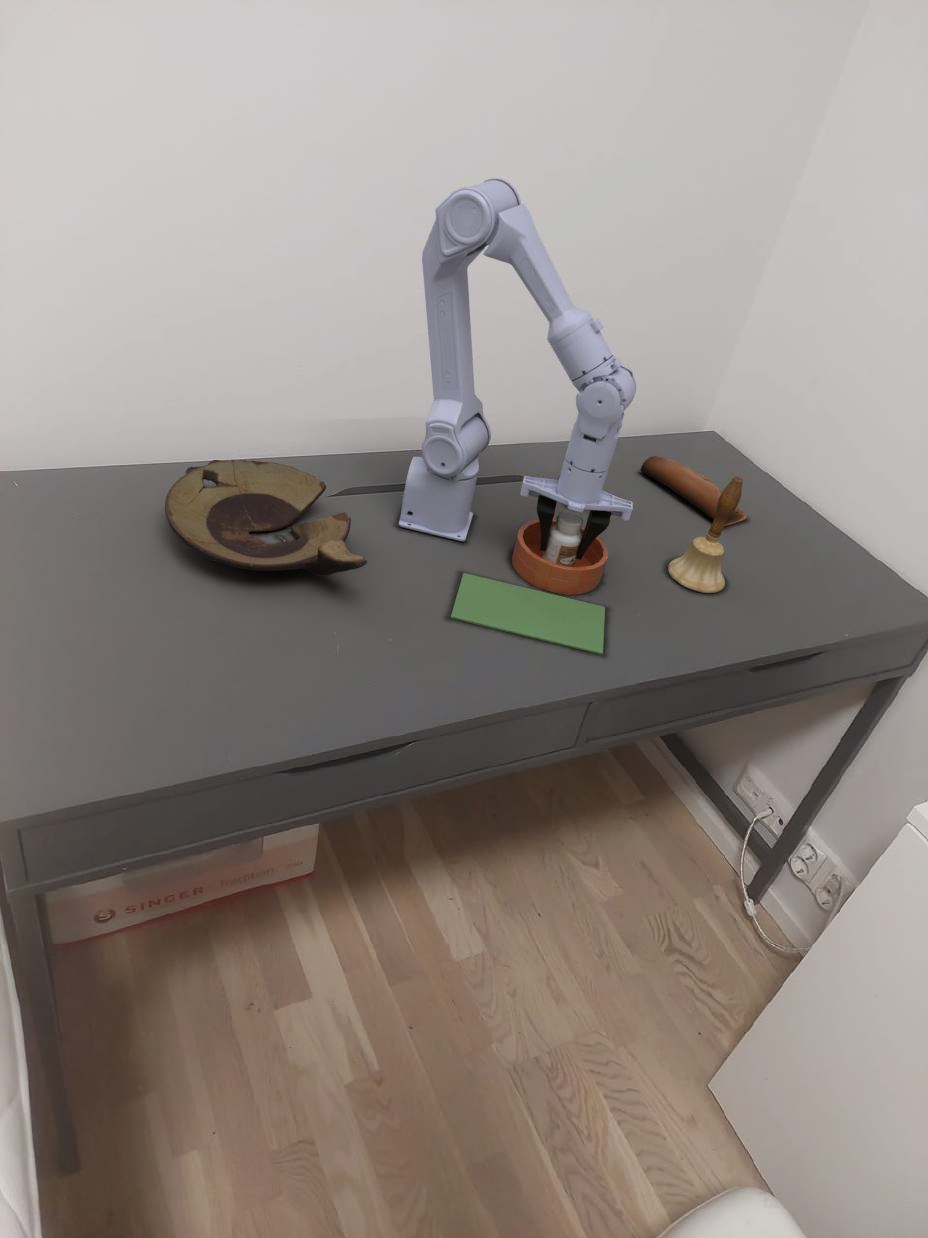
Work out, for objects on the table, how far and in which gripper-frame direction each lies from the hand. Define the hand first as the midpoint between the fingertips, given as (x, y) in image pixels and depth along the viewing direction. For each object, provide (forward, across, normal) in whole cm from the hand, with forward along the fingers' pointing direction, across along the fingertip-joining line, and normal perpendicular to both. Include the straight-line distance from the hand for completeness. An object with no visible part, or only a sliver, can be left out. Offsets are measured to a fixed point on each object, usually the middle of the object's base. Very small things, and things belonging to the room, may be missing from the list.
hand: (560, 551), depth 120 cm
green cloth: (+3, -2, -12) cm, 13 cm away
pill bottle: (+3, 0, 0) cm, 3 cm away
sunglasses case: (+3, +21, +31) cm, 38 cm away
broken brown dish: (+3, -37, -12) cm, 39 cm away
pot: (+3, 0, 0) cm, 3 cm away
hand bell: (+3, +20, +6) cm, 21 cm away
